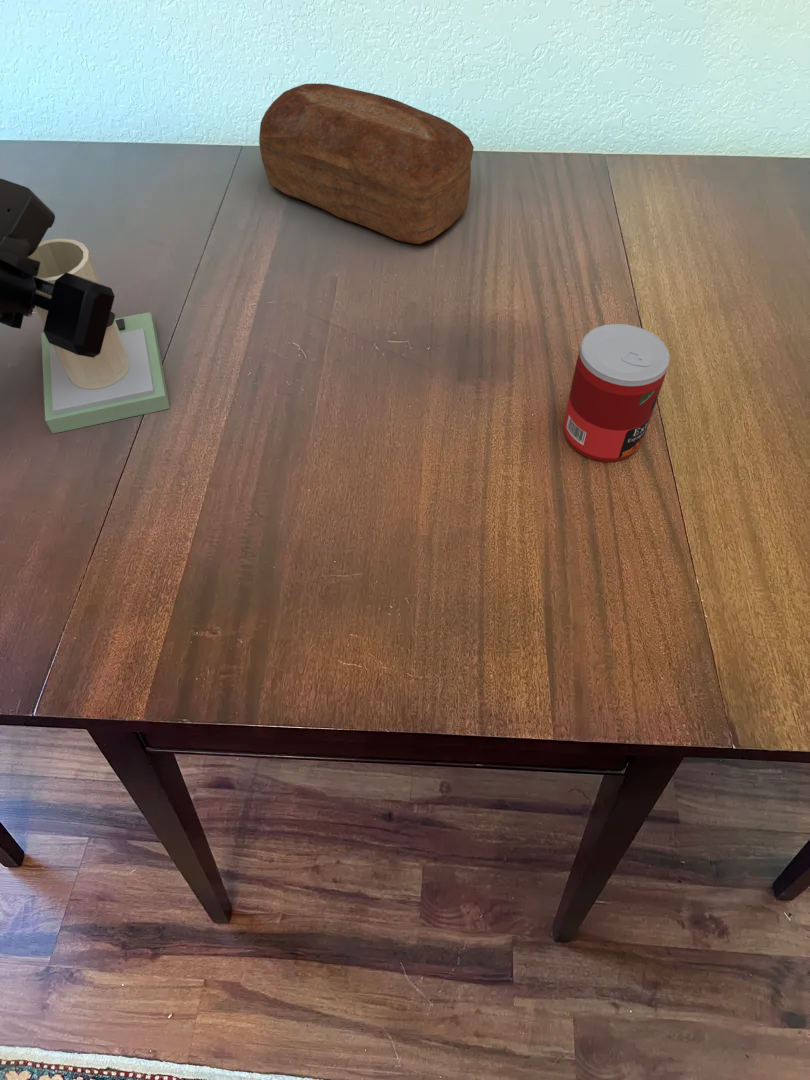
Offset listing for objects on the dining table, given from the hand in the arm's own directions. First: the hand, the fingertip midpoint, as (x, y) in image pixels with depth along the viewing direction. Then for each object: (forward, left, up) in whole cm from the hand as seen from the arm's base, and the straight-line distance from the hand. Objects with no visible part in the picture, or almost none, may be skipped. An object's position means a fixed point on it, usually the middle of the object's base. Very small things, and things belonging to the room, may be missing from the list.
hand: (86, 308), depth 77 cm
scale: (0, +1, -9) cm, 9 cm away
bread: (+43, +3, -9) cm, 44 cm away
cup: (-1, 0, -7) cm, 7 cm away
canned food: (+28, -44, -9) cm, 53 cm away
